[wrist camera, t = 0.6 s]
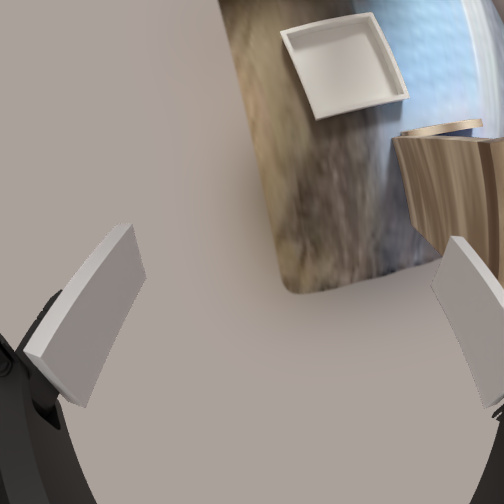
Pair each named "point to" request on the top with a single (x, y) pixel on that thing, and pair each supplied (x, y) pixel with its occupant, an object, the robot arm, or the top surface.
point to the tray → (344, 64)
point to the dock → (455, 188)
